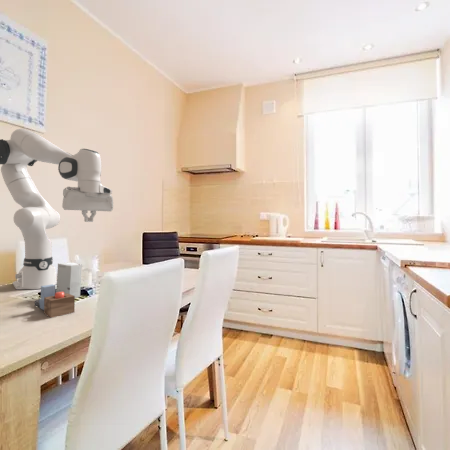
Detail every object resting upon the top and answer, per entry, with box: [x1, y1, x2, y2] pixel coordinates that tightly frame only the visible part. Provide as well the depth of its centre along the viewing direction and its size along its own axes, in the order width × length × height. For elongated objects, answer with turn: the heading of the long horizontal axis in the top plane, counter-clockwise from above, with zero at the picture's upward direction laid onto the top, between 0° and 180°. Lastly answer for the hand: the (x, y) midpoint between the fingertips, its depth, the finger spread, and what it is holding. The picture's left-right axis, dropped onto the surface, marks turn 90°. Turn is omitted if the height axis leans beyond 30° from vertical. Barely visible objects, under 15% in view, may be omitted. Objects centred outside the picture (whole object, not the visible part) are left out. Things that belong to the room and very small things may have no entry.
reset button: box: [55, 291, 64, 299], centre depth 108 cm, size 3×3×3 cm
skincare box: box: [55, 261, 83, 299], centre depth 128 cm, size 8×6×15 cm
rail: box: [34, 299, 42, 310], centre depth 113 cm, size 13×2×2 cm, turn 52°
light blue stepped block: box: [38, 284, 56, 311], centre depth 110 cm, size 5×4×8 cm
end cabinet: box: [43, 293, 76, 319], centre depth 108 cm, size 6×8×6 cm
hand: (88, 221), depth 123 cm, fingers closed
